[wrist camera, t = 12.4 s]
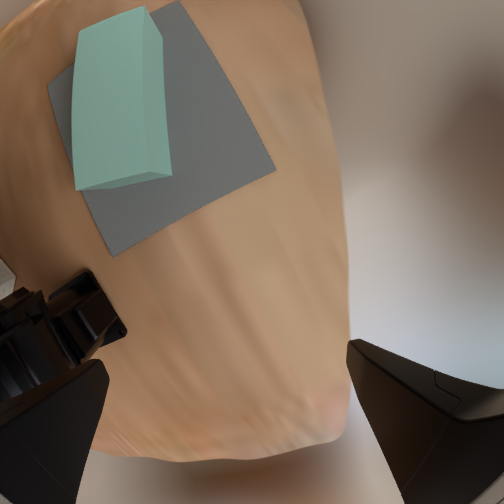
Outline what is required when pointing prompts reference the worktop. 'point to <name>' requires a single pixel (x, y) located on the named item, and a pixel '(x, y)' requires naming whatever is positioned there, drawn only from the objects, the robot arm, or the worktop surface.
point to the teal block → (119, 103)
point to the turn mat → (176, 139)
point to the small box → (6, 280)
